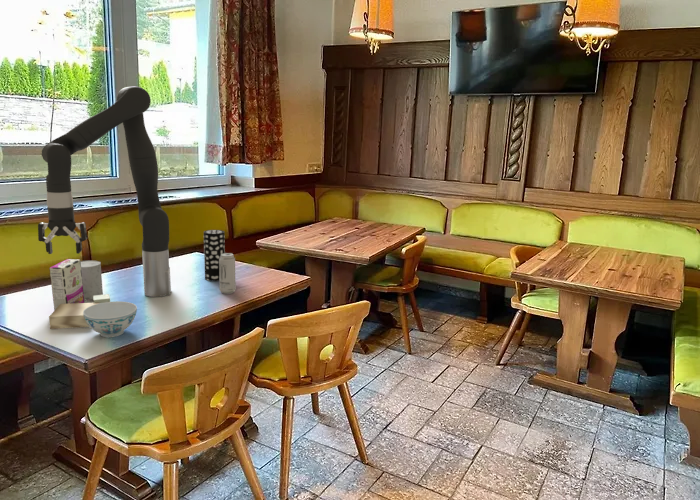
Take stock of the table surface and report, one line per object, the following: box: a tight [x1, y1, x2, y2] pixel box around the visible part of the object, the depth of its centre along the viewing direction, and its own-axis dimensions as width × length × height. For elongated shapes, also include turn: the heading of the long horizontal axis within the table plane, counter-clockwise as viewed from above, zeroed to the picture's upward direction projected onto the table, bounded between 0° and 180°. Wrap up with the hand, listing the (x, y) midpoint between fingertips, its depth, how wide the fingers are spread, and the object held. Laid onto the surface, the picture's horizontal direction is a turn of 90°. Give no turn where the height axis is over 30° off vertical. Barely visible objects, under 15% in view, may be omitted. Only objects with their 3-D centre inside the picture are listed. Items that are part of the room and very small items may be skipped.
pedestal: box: [48, 302, 100, 330], centre depth 171 cm, size 12×12×4 cm
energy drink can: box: [218, 252, 236, 295], centre depth 204 cm, size 6×6×15 cm
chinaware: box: [83, 301, 138, 338], centre depth 162 cm, size 15×15×8 cm
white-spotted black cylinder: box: [203, 229, 226, 282], centre depth 220 cm, size 8×8×20 cm
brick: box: [92, 293, 111, 303], centre depth 181 cm, size 5×5×5 cm
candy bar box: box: [49, 258, 86, 312], centre depth 179 cm, size 11×5×16 cm, turn 179°
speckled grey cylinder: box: [80, 259, 104, 301], centre depth 194 cm, size 10×10×12 cm
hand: (64, 253), depth 177 cm, fingers open, 8 cm apart
